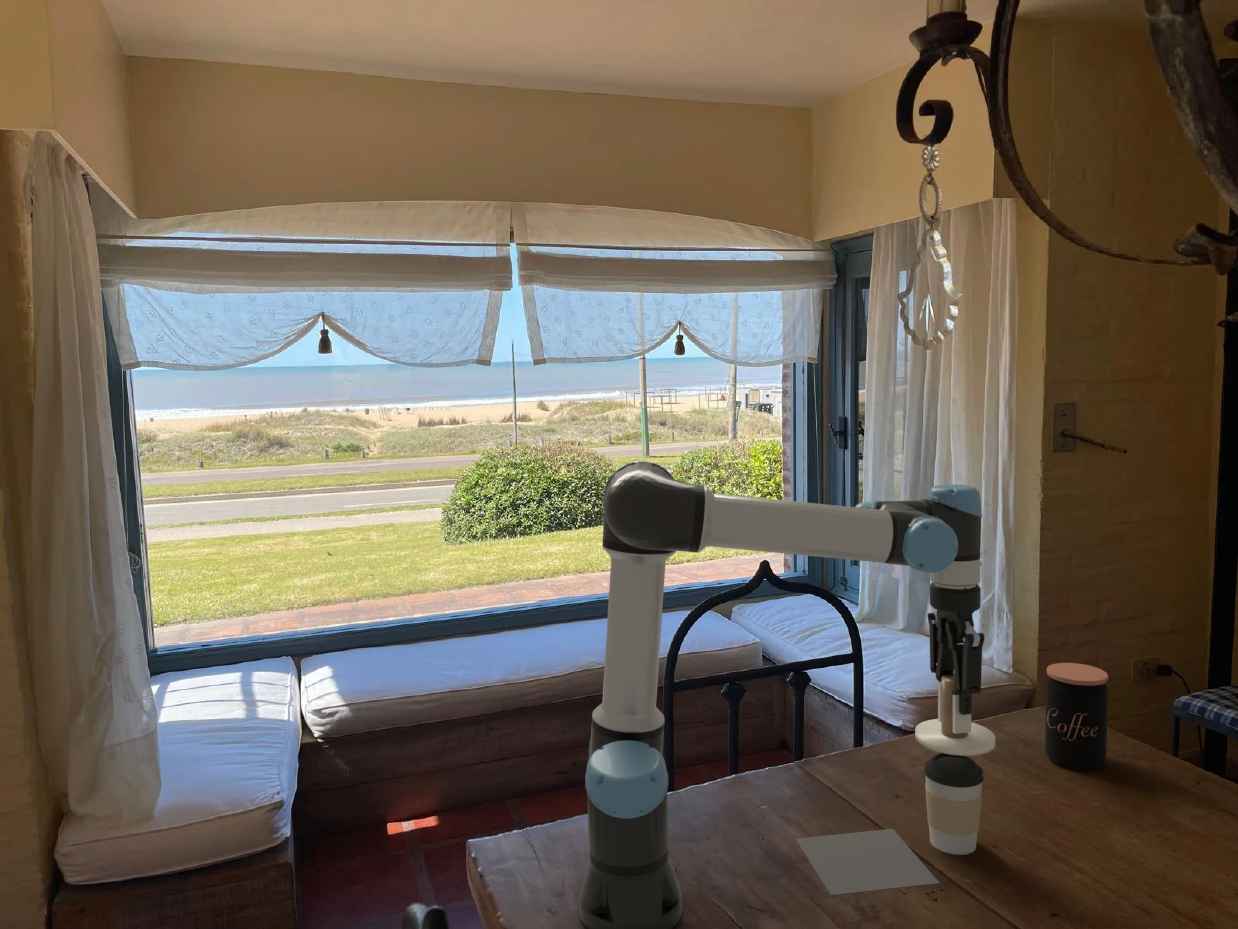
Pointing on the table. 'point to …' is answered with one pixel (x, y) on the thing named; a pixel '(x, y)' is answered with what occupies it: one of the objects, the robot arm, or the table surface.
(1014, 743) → the table surface
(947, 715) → the lid
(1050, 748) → the coffee jar
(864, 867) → the mat
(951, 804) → the coffee cup
